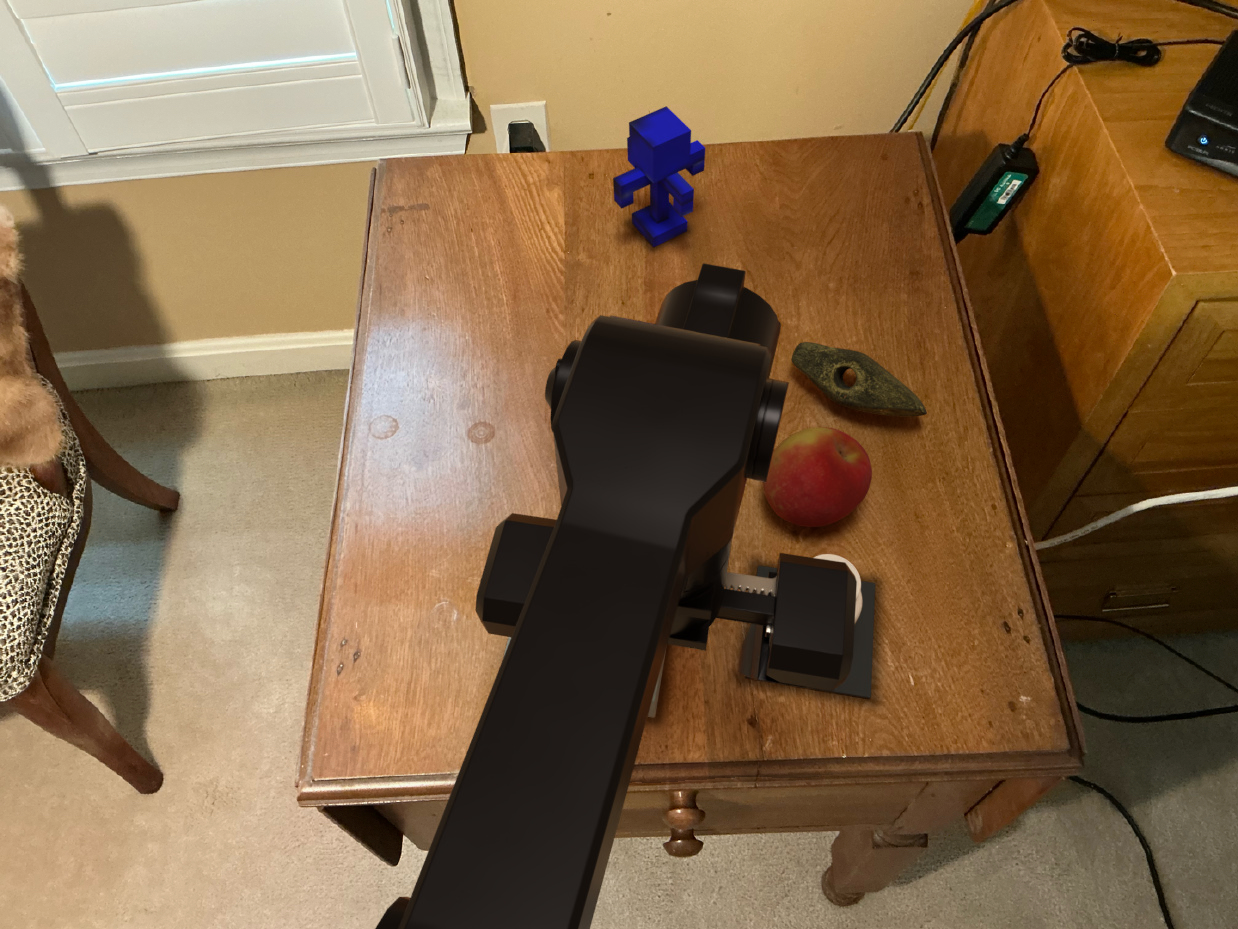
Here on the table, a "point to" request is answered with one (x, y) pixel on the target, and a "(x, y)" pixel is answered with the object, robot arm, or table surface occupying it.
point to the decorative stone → (872, 381)
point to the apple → (817, 477)
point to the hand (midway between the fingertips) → (664, 652)
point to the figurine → (660, 174)
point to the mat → (863, 644)
